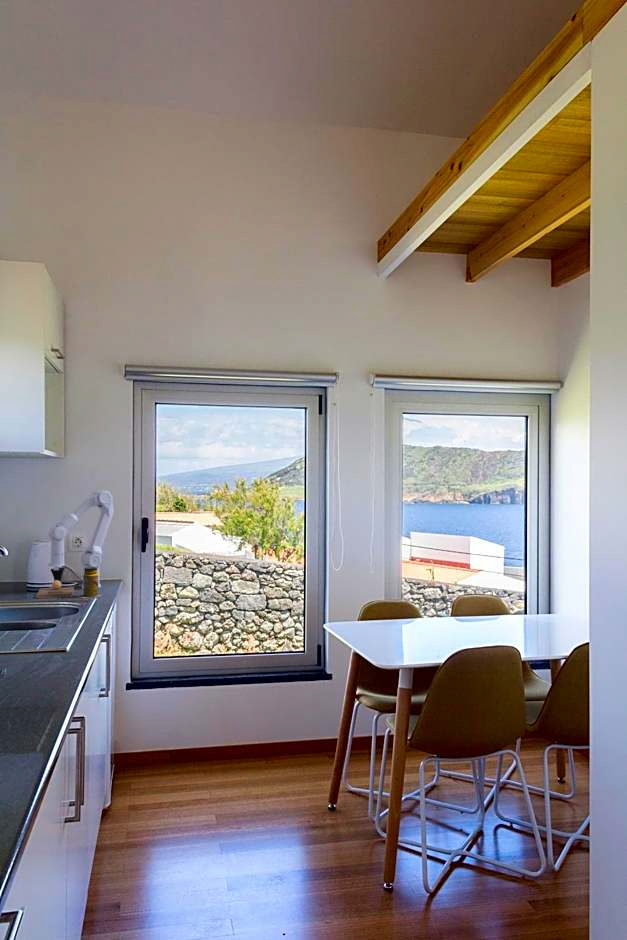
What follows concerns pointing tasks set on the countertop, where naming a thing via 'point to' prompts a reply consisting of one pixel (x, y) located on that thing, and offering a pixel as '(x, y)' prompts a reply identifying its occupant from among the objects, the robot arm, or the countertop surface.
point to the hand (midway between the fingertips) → (57, 584)
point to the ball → (56, 584)
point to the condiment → (90, 583)
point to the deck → (55, 593)
